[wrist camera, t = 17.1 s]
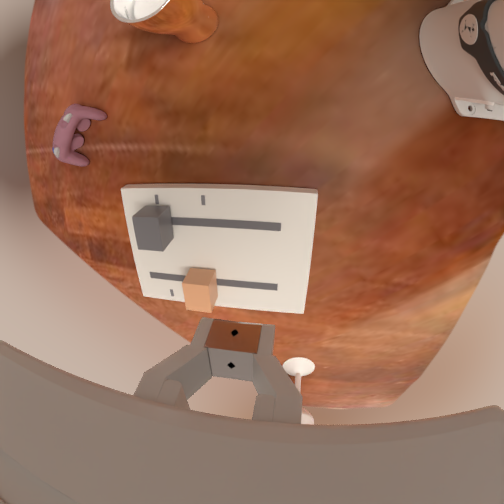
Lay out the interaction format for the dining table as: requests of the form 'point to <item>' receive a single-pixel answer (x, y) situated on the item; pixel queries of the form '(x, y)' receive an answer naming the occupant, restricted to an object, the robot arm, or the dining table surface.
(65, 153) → the video game controller
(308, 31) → the dining table surface
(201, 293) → the block
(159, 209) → the block
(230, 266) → the fader panel
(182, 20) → the beer glass
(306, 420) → the champagne flute
